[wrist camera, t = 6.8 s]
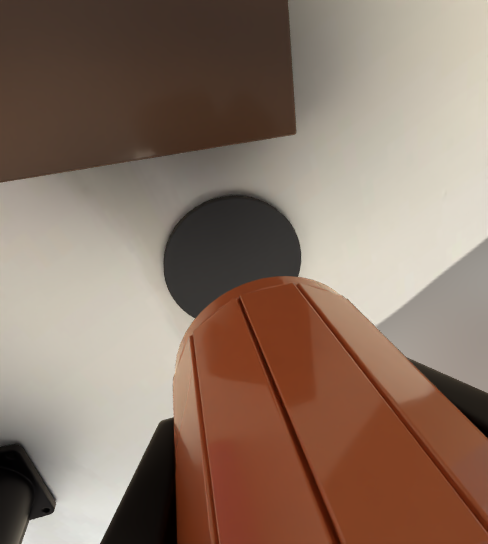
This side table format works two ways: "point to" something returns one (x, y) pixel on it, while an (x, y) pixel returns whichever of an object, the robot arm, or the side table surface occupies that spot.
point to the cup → (316, 429)
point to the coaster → (227, 250)
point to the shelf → (138, 80)
